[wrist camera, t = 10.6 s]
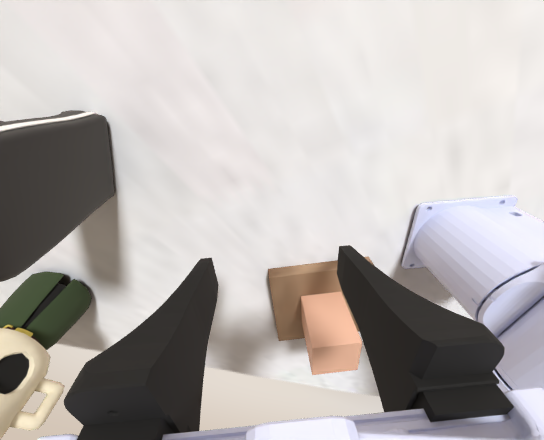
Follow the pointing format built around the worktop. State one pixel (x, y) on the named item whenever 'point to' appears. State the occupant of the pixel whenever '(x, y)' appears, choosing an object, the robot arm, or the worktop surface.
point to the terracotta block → (330, 333)
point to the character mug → (34, 344)
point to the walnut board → (300, 293)
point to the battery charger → (49, 182)
